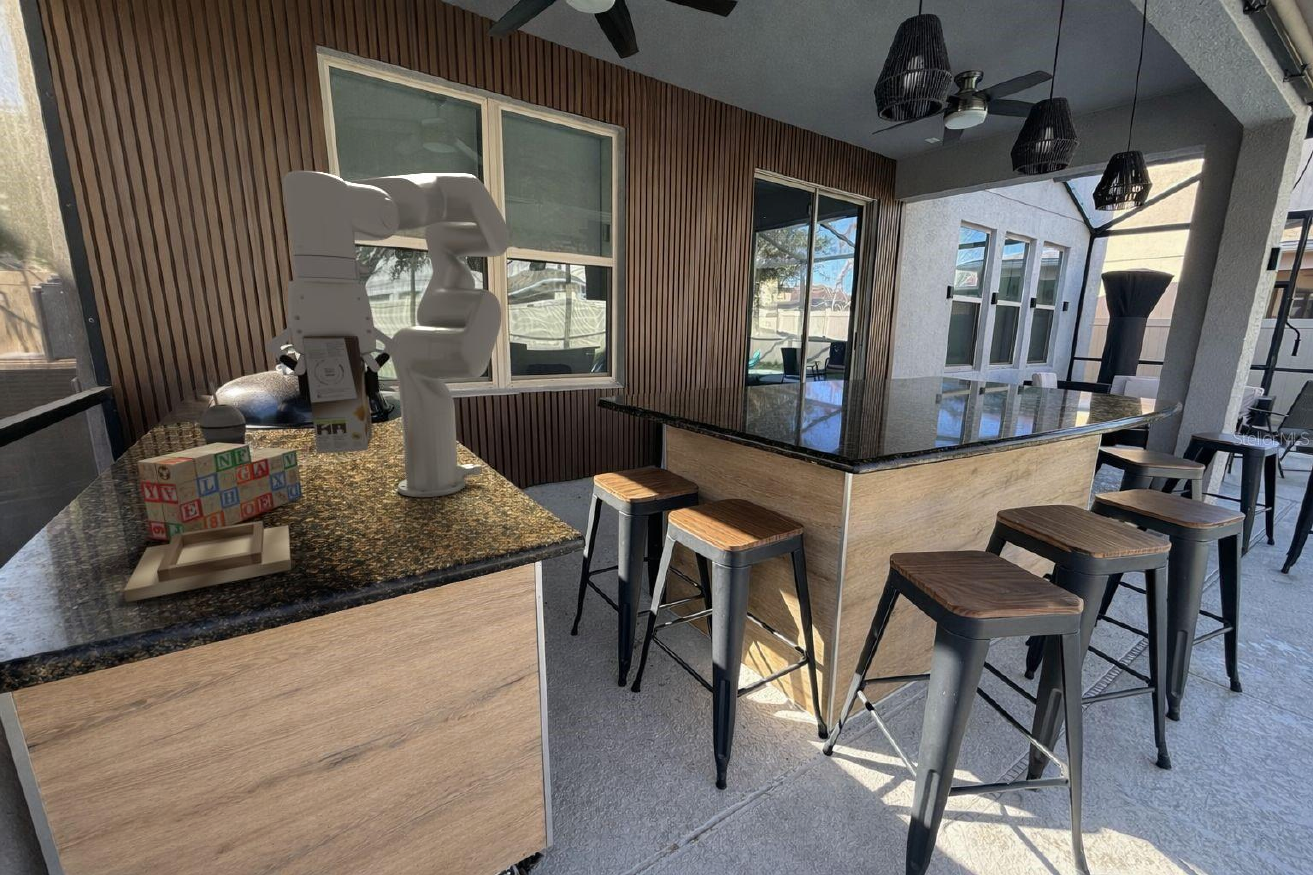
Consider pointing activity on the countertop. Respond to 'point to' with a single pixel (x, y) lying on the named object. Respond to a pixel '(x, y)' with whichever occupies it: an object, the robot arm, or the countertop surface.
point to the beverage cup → (222, 423)
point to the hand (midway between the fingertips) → (341, 399)
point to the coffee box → (338, 393)
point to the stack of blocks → (215, 486)
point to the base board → (210, 559)
